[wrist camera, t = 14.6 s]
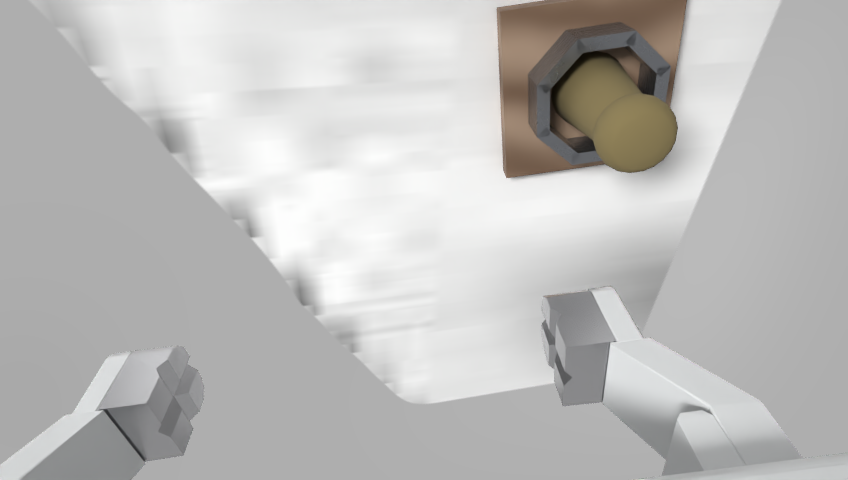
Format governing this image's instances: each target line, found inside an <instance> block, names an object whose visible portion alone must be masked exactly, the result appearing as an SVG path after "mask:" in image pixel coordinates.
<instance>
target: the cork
mask: <svg viewBox="0 0 848 480" xmlns="http://www.w3.org/2000/svg"><path fill="white" fill-rule="evenodd" d="M552 103H553V106H554V109H555V111H556V112H557V113H558V114H559V116H560V117H561V118H562V119H563V120H565V121H566V122H568V123H569V124H571V125H572V126H573V127H575V128H576V129H578V130H579V131H580V132H582V133H583V134H585V135H586V136H588V137H589V138H590V139H592V140H593V142H594V146H595V149H596V152H597V154H598V155H599V157H600V158H601V159H602V160H603V162H604V163H605V164H606V165H608V166H610V167H611V168H613V169H615V170H617V171H620V172H627V173H632V172H639V171H644V170H647V169H649V168H652V167H654V166H655V165H657V164H658V163H659V162H661V161H662V160H663V159H664V158H665V157H666V156H667V155H668V153H669V152H670V151H671V149H672V147H673V145H674V143H675V140H676V135H677V129H678V127H677V122H676V117H675V115H674V113H673V111H672V110H671V109H670V107H669V106H668V104H666V103H665V102H664V101H662V100H660V99H659V98H657V97H655V96H653V95H647V94H642V92H641V91H640V90H639V88H638V87H637V86H636V84H635V83H634V82H633V80H632V79H631V78H630V76H629V75H628V74H627V72H626V71H625V69H624V68H623V67H622V65H621V64H620V63H619V61H618V60H617V59H616V58H615V57H613V56H611V55H610V54H608V53H604V52H599V51H594V52H587V53H583V54H582V55H581V56H580V57H579V58H578V59H577V60H576V61H575V62H574V63H573V65H572V66H571V67H570V68H569V69H568V70H567V71H566V72H565V74H564V75H563V76H562V77H561V78H560V79H559V80H558V81H557V82H556V84H555V85H554V86H553V88H552Z"/></svg>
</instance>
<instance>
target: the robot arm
mask: <svg viewBox="0 0 848 480" xmlns="http://www.w3.org/2000/svg"><path fill="white" fill-rule="evenodd" d="M542 311H543V314H544V317H545V320H544V322H543V323H542V340H543V347H544V351H545V355H546V358H547V361H548V365H549V366H551V367H552V368H554V382H555V385H556V388H557V391H558V393H559V396H560V399H561V401H562V405H563V406H569V405H579V404H589V403H599V402H603V405H604V406H605V407H607V408H608V409H609V410H610V411H611V412H613V414H615V415H616V416H617V417H618V418H619V419H620V420H621V421H622V422H624V423H625V424H626V425H627V426H628V427H629V428H630V429H632V430H633V431H634V432H635V433H636V434H637V435H638V436H640V437H641V438H642V439H643V440H644V441H645V442H646V443H647V444H648V445H650V446H651V447H652V448H653V449H654V450H655V451H657V452H658V453H659V454H660V455H661V456H662V457H663V458H664V459H666V462H665V466H664V470H663V473H662V476H659V477H650V478H643V479H634V480H848V453H841V454H833V455H826V456H817V457H809V458H802V456H801V455H800V454H799V452H798V451H797V449H796V448H795V447H794V445H793V444H792V443H791V441H790V440H789V439H788V437H787V436H786V435H785V433H784V432H783V430H782V429H781V428H780V426H779V425H778V424H777V422H776V421H775V420H774V418H773V417H772V415H771V414H770V413H769V412H768V410H767V409H766V407H765V406H764V405H763V403H762V402H761V401H760V400H758V399H756V398H755V397H753V396H751V395H749V394H748V393H746V392H744V391H742V390H741V389H739V388H737V387H735V386H734V385H732V384H730V383H729V382H727V381H725V380H723V379H722V378H720V377H718V376H716V375H715V374H713V373H711V372H710V371H708V370H706V369H704V368H702V367H701V366H699V365H697V364H696V363H694V362H692V361H690V360H689V359H687V358H685V357H684V356H682V355H680V354H678V353H677V352H675V351H673V350H671V349H670V348H668V347H666V346H664V345H663V344H661V343H659V342H658V341H656V340H654V339H652V338H643V336H642V334H641V333H640V331H639V329H638V328H637V326H636V324H635V323H634V321H633V319H632V317H631V316H630V314H629V312H628V311H627V309H626V307H625V306H624V304H623V302H622V300H621V299H620V297H619V295H618V294H617V292H616V290H615V289H614V288H613V287H611V286H607V287H600V288H594V289H588V290H582V291H575V292H568V293H561V294H554V295H547V296H543V299H542ZM189 358H190V356H189V354H188V353H187V351H186V350H185V348H184V347H182V346H170V347H162V348H153V349H144V350H135V351H130V352H120V353H113V354H112V355H110V356H109V357H107V358H106V360H105V362H104V363H103V365H102V366H101V368H100V370H99V371H98V373H97V375H96V376H95V378H94V380H93V381H92V383H91V384H90V386H89V388H88V389H87V391H86V392H85V394H84V396H83V397H82V399H81V401H80V402H79V404H78V405H77V407H76V409H75V410H74V412H73V414H71V415H65V416H63V417H62V418H61V419H60V420H59V421H57V422H56V423H54V424H53V425H52V426H51V427H49V428H48V429H47V430H45V431H44V432H43V433H41V434H40V435H39V436H38V437H36V438H35V439H33V440H32V441H31V442H30V443H28V444H27V445H26V446H24V447H23V448H22V449H21V450H19V451H18V452H17V453H15V454H14V455H13V456H11V457H10V458H9V459H7V460H6V461H5V462H4V463H2V464H1V465H0V480H131V479H132V478H133V477H134V476H135V475H136V474H137V473H138V472H139V470H140V469H141V468H142V467H143V466H144V465H145V462H146V461H152V460H158V459H165V458H171V457H177V456H183V455H184V452H185V450H186V447H187V444H188V442H189V439H190V436H191V434H192V431H193V427H192V425H191V422H190V420H191V419H192V418H193V417H194V416H195V415H196V414H197V413H198V412H199V411H200V409H201V406H202V403H203V400H204V384H203V380H202V377H201V375H200V373H199V372H198V370H197V369H195V368H193V367H191V366H190V365H188V364H187V363H188V360H189Z"/></svg>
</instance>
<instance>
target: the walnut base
mask: <svg viewBox="0 0 848 480" xmlns="http://www.w3.org/2000/svg"><path fill="white" fill-rule="evenodd" d="M686 3H687V0H544V1H538V2H531V3H524V4H518V5H511V6H505V7H498V8H497V26H498V50H499V74H500V98H501V123H502V147H503V171H504V173H505V175H506V178H510V177H517V176H524V175H531V174H538V173H545V172H552V171H559V170H566V169H573V168H580V167H587V166H594V165H601V164H605V163H604V162H603V161H597V162H590V163H583V164H576V165H571V164H570V163H569V162H568V161H566V160H565V159H564V158H563V157H561V156H560V155H559V154H558V153H556V152H555V151H554V150H552V149H551V148H550V147H549V146H547V145H546V144H545V143H544V142H542V141H541V140H540V139H539V138H537V137H536V135H535V134H534V132H533V130H532V129H531V127H530V125H529V124H528V73H529V72H530V71H531V70H532V69H533V67H534V66H535V65H536V64H537V63H538V62H539V60H540V59H541V58H542V57H543V56H544V55H545V53H546V52H547V51H548V50H549V49H550V48H551V46H552V45H553V44H554V43H555V42H556V41H557V39H558V38H559V37H560V36H561V35H562V34H563V32H564V31H565V30H568V29H575V28H582V27H588V26H595V25H602V24H609V23H615V22H622V23H624V24H625V25H627V26H629V27H631V28H633V29H635V30H636V31H637V32H638V33H639V34H640V35H641V36H642V37H643V38H644V39H645V40H646V41H647V42H648V43H649V44H650V45H651V46H652V47H653V48H654V49H655V50H656V51H657V52H658V53H659V54H660V55H661V56H662V57H663V58H664V60H665V61H666V62H667V63H668V64H669V65H671V70H670V76H669V83H668V89H667V96H666V102H665V103H666V104H668V106H669V107H670V103H671V97H672V91H673V84H674V78H675V72H676V66H677V59H678V53H679V47H680V40H681V34H682V28H683V21H684V15H685V9H686ZM592 52H594V51H592ZM599 52H604V53H608V54H610V55H611V56H613V57H615V58H616V59H617V60H618V61H619V63H620V64H621V65H622V67H623V68H624V69H625V71H626V72H627V74H628V75H629V76H630V78H631V79H632V80H633V82H634V83H635V84H636V86H637V85H638V77H639V68H640V62H639V61H638V60H637V59H636V58H635V57H634V56H633V55H632V54H631V53H630V52H629V51H628V50H627V49H626V48H625V47H619V48H612V49H605V50H599ZM585 53H587V52H585ZM582 54H583V53H582ZM552 88H553V87H552ZM552 88H551V89H550V125H551V126H552V127H553V128H555V129H556V130H557V131H558V132H559V133H561V134H562V135H563V136H564V137H566V138H567V139H568V138H575V137H582V136H586V135H585V134H583V133H582V132H580V131H579V130H578V129H576V128H575V127H573V126H572V125H571V124H569V123H568V122H566V121H565V120H563V119H562V118H561V117H560V116H559V114H558V113H557V112H556V111H555V109H554V106H553V103H552Z"/></svg>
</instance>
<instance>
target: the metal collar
mask: <svg viewBox="0 0 848 480" xmlns="http://www.w3.org/2000/svg"><path fill="white" fill-rule="evenodd" d="M619 47H625V48H626V49H627V50H628V51H629V52H630V53H631V54H632V55H633V56H634V57H635V58H636V59H637V60H638V61H639V62H640V68H639V77H638V85H637V87H638V88H639V90H640V91H641V92H642V94H647V95H653V96H655V97H657V98H659V99H660V100H662V101H664V102H666V96H667V89H668V83H669V76H670V70H671V65H669V64H668V63H667V62H666V61H665V60H664V58H663V57H662V56H661V55H660V54H659V53H658V52H657V51H656V50H655V49H654V48H653V47H652V46H651V45H650V44H649V43H648V42H647V41H646V40H645V39H644V38H643V37H642V36H641V35H640V34H639V33H638V32H637V31H636V30H635V29H633V28H631V27H629V26H627V25H625V24H624V23H622V22H615V23H609V24H602V25H595V26H588V27H582V28H575V29H568V30H565V31H564V32H563V34H562V35H561V36H560V37H559V38H558V39H557V41H556V42H555V43H554V44H553V45H552V46H551V48H550V49H549V50H548V51H547V52H546V53H545V55H544V56H543V57H542V58H541V59H540V60H539V62H538V63H537V64H536V65H535V66H534V67H533V69H532V70H531V71H530V72H529V73H528V124H529V125H530V127H531V129H532V130H533V132H534V134H535V135H536V137H537V138H539V139H540V140H541V141H542V142H544V143H545V144H546V145H547V146H549V147H550V148H551V149H552V150H554V151H555V152H556V153H558V154H559V155H560V156H561V157H563V158H564V159H565V160H566V161H568V162H569V163H570V164H571V165H576V164H583V163H590V162H597V161H603V160H602V159H601V158H600V157H599V155H598V154H597V152H596V149H595V146H594V142H593V140H592V139H590V138H589V137H588V136H582V137H575V138H568V139H567V138H566V137H564V136H563V135H562V134H561V133H559V132H558V131H557V130H556V129H555V128H553V127H552V126H551V125H550V89H551V88H552V87H553V86H554V85H555V84H556V82H557V81H558V80H559V79H560V78H561V77H562V76H563V75H564V74H565V72H566V71H567V70H568V69H569V68H570V67H571V66H572V65H573V63H574V62H575V61H576V60H577V59H578V58H579V57H580V56H581V55H582V53H585V52H592V51H599V50H605V49H612V48H619Z"/></svg>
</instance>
